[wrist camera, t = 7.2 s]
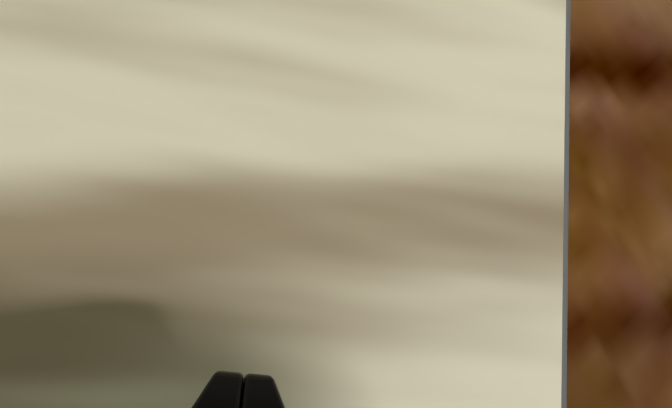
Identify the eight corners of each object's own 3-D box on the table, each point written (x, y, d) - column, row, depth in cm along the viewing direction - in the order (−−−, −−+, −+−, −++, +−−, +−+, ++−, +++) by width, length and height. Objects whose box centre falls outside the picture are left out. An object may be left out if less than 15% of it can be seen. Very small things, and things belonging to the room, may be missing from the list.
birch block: (560, 468, 11) (566, -14, 13) (-153, 417, 9) (-8, -125, 11) (460, 422, 15) (477, 78, 18) (-16, 384, 14) (67, 10, 16)
